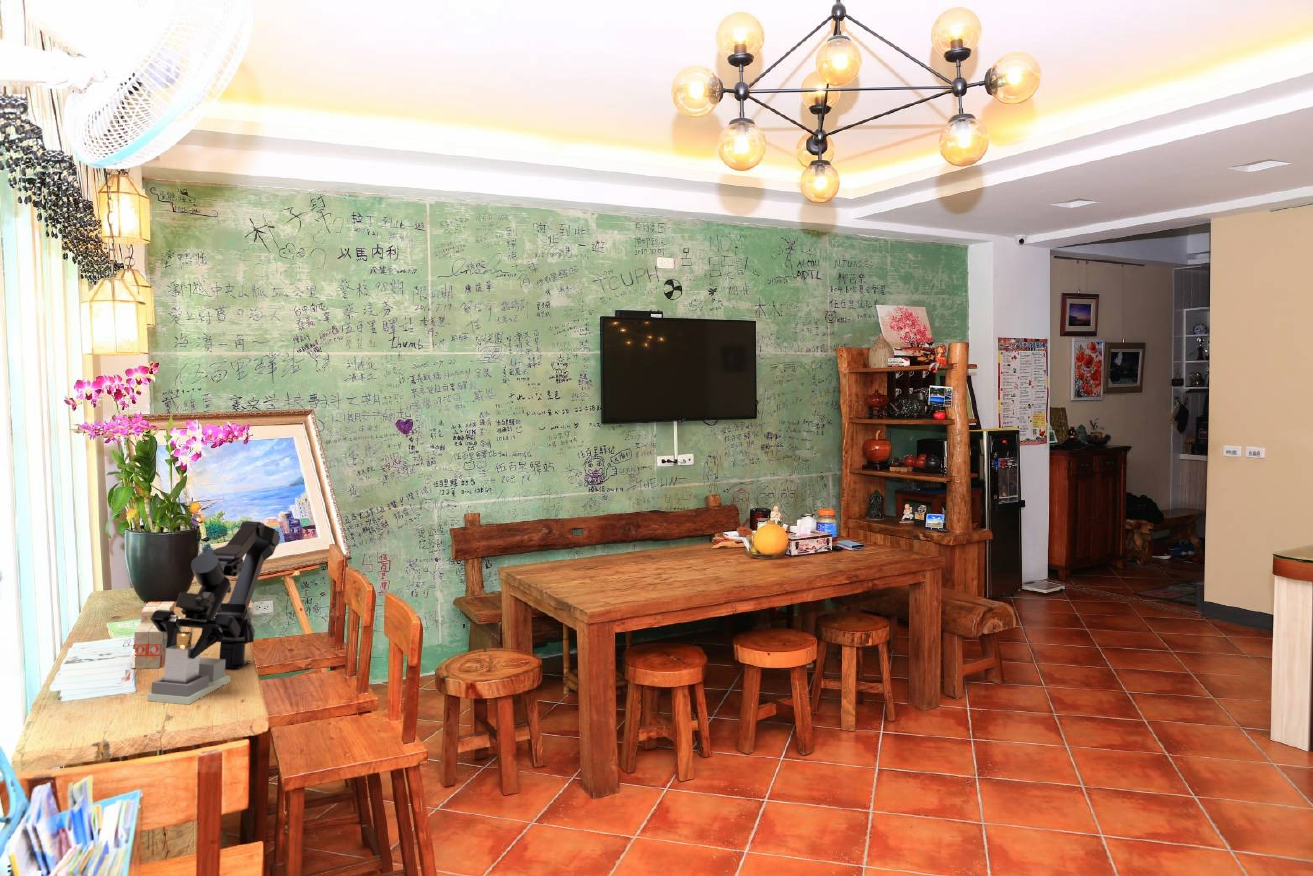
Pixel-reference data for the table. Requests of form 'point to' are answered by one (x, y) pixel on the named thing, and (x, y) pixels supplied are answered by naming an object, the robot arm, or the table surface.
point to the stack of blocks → (150, 638)
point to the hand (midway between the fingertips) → (179, 657)
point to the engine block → (181, 661)
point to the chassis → (191, 684)
